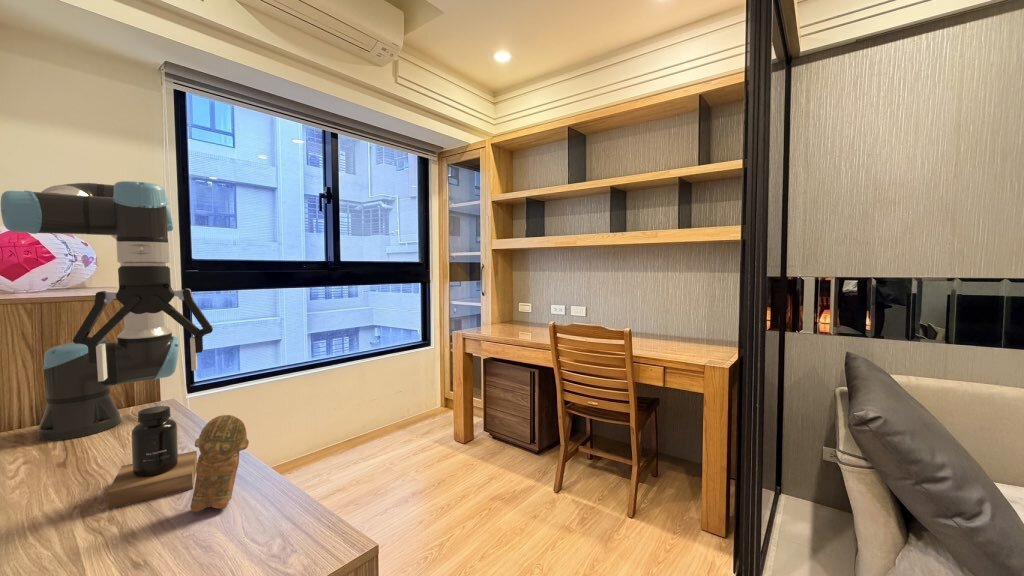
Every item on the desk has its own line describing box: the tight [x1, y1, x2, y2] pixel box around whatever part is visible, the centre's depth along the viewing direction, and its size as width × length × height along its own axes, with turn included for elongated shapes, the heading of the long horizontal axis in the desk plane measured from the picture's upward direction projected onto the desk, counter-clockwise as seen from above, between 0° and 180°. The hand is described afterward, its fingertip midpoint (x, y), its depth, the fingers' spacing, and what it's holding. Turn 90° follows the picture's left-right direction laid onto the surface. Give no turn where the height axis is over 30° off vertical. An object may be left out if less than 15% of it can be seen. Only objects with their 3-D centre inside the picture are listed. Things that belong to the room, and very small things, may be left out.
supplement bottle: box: [131, 405, 179, 477], centre depth 82 cm, size 7×7×12 cm
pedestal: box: [106, 450, 198, 510], centre depth 83 cm, size 12×12×3 cm
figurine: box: [190, 414, 250, 512], centre depth 76 cm, size 8×8×15 cm
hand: (150, 374), depth 82 cm, fingers open, 13 cm apart
